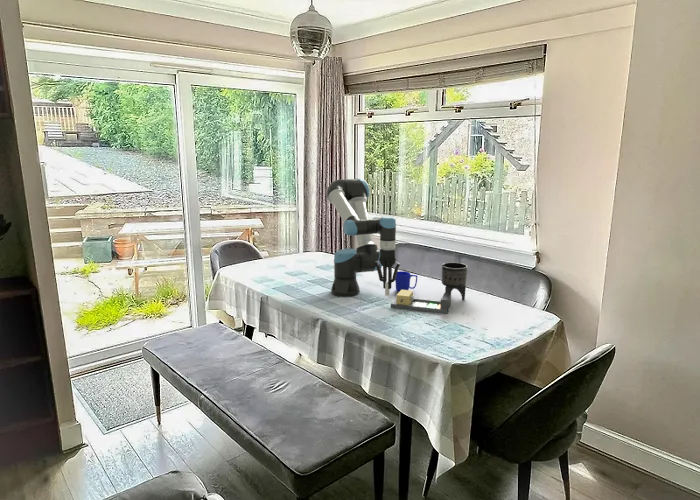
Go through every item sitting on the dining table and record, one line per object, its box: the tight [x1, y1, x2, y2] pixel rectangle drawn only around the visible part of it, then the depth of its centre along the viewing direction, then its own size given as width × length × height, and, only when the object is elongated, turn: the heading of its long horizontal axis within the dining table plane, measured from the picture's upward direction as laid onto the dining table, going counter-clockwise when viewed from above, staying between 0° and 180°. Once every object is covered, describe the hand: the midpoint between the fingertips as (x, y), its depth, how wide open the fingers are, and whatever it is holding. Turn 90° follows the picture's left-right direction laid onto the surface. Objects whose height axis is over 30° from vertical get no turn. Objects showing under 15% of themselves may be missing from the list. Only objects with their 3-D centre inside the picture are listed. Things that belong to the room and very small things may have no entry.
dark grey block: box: [440, 291, 452, 312], centre depth 226 cm, size 3×12×6 cm, turn 160°
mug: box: [394, 270, 418, 293], centre depth 255 cm, size 8×12×10 cm
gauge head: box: [395, 289, 415, 305], centre depth 231 cm, size 7×12×5 cm, turn 160°
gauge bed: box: [390, 297, 452, 315], centre depth 231 cm, size 27×12×2 cm, turn 70°
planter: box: [441, 261, 469, 301], centre depth 241 cm, size 13×13×18 cm
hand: (387, 294), depth 236 cm, fingers closed
